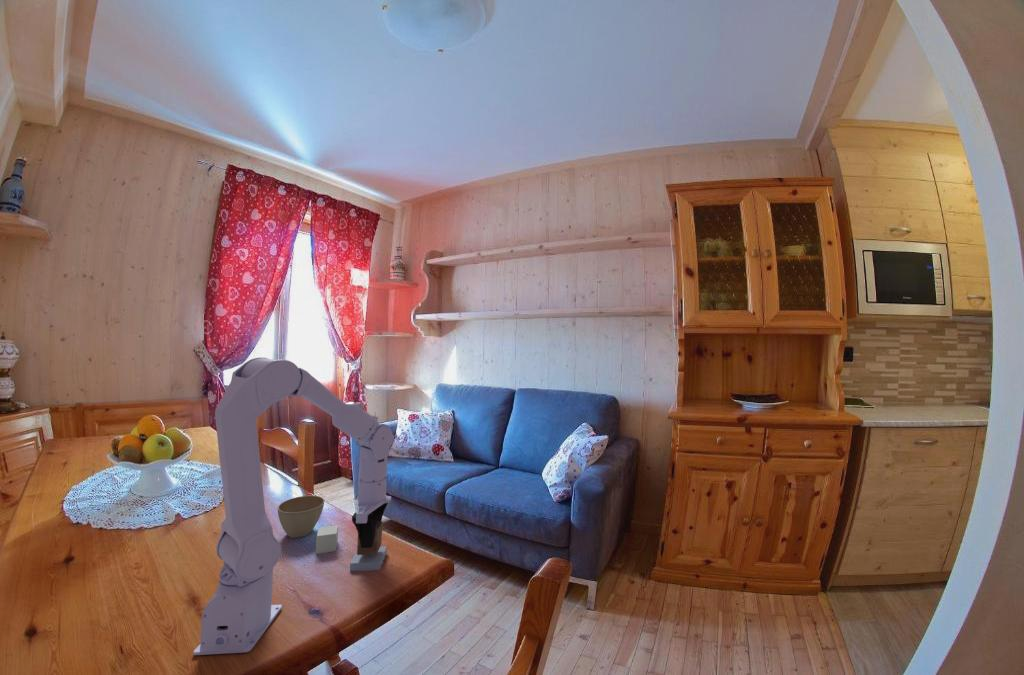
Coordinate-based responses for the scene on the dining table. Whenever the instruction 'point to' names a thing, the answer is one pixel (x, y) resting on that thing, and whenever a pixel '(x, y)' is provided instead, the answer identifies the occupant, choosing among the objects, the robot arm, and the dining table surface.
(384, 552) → the slate slab
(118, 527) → the dining table surface
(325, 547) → the sage block
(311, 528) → the flower pot
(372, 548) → the walnut block
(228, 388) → the robot arm
